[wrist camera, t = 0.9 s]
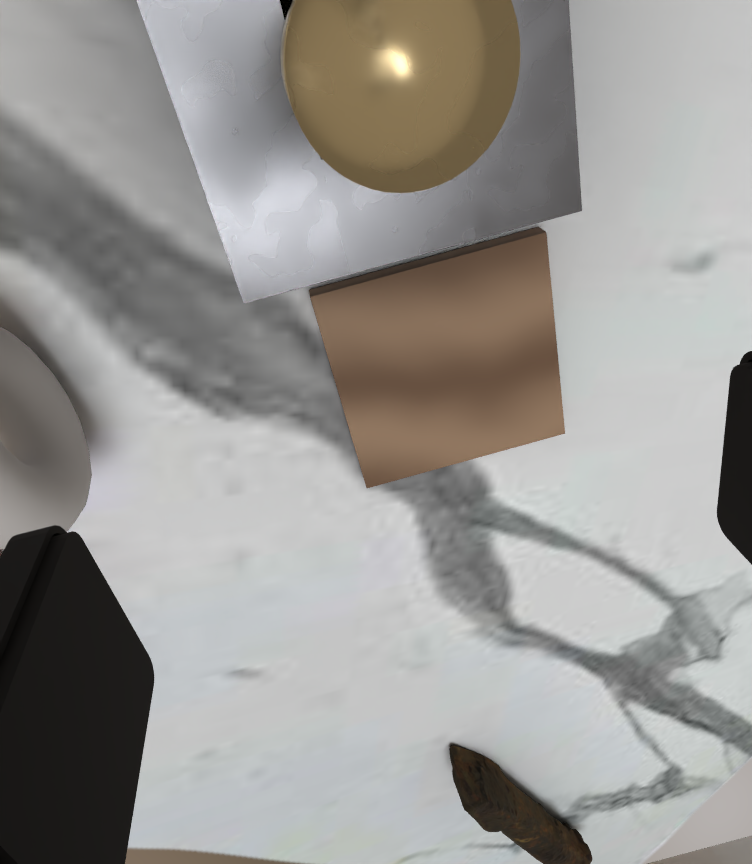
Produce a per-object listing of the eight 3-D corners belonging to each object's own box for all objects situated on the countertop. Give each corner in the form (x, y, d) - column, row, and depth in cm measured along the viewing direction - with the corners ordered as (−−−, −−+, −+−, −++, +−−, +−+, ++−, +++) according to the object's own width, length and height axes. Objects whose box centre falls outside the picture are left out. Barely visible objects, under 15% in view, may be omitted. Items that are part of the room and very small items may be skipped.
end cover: (255, -15, 25) (251, -43, 16) (421, -60, 25) (505, -111, 16) (303, 163, 28) (321, 218, 20) (450, 123, 28) (532, 160, 20)
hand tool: (580, 823, 59) (603, 880, 55) (540, 843, 60) (560, 900, 56) (479, 721, 50) (499, 780, 46) (434, 746, 50) (449, 807, 46)
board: (308, 289, 31) (310, 297, 30) (538, 227, 31) (546, 232, 30) (364, 477, 37) (366, 488, 36) (557, 424, 37) (564, 433, 36)
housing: (111, -117, 23) (85, -144, 19) (508, -224, 23) (551, -270, 19) (245, 273, 30) (243, 303, 27) (545, 191, 30) (581, 210, 27)
